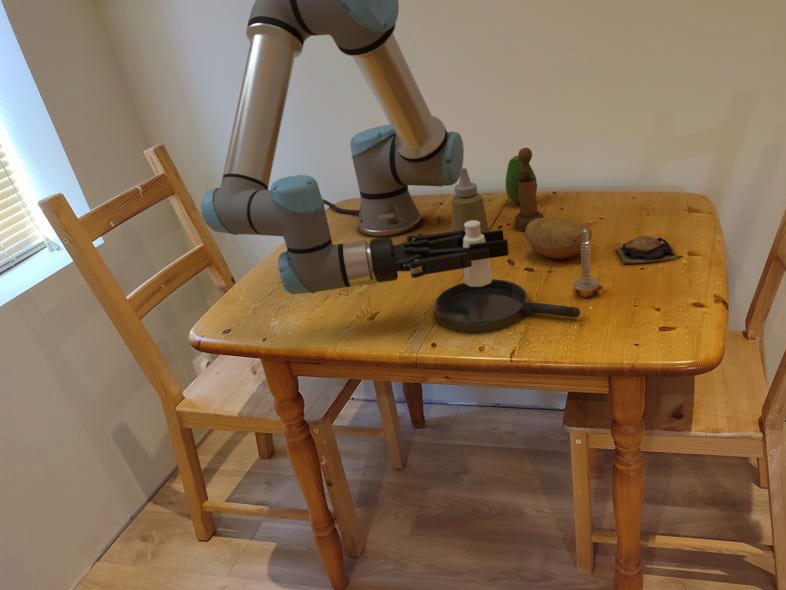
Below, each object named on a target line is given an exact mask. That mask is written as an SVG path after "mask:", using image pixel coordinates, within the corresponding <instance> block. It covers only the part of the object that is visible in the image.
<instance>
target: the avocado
mask: <svg viewBox="0 0 786 590" xmlns="http://www.w3.org/2000/svg"><path fill="white" fill-rule="evenodd" d="M522 167H523V164H522V162H521V160H520V159H519V156H518V155H514V156H513V157H512V158H510V160H509V161H508V164H507V169H506V175H505V191H506V193H507V196H508V198H509V199H510V200H511V201H512V202H514V203H515V204H519V205H520V199H519V187H518V180H519V179H520V178H523V176H522V172H521V168H522ZM529 167H530V168H531V174H530V177H534V178H535V180H536V191H537V189H538V182H537V176H536V175H535V172H534V169H533V168H532V166H531V164H530V163H529Z"/></svg>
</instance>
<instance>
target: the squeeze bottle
mask: <svg viewBox="0 0 786 590" xmlns="http://www.w3.org/2000/svg"><path fill="white" fill-rule="evenodd" d="M458 181H459V183H458V184H456V185H455V186H454V194H455V195H454V196H453V197H452V199H451V224H452V225H451V227H452V231H461V230H465V227H464V224H465V223H466V222H468V221H472V220H476V221H479V222H480V230H481V231H480V232H481V233H482V232H489V231H490V229H489V224H488V218H487V215H486V209H485V205H484V199H483V196H482V195H481V194H480V193H479V192H478V187H477V184H476V183H474V182H472V181H471V179H470V175H469V172H468V169H467V168H466V167H462V168H461V170H460V177H459V180H458ZM465 234H466V232H465Z"/></svg>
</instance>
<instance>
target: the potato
mask: <svg viewBox="0 0 786 590" xmlns="http://www.w3.org/2000/svg"><path fill="white" fill-rule="evenodd" d="M585 228H586V229H589V240H590V242H591V241H592V237H593V232H592V229H591V228H590V227H589V226H587V224H584V223H582V222H579V221H573V220H569V219H568V220H567V219H562V218H550V217H549V218H548V217H543V218H538V219H534V220H532V221H530V222H529V224H528V225H527V227H526V231H524V236H525V240H526V242H527V244H528V245H529V246H530V248H532V251H534V252H536V254H537V253H538V254H539V255H540V256H543V257H546V258H548V259H552V260H563V259H567V258H571V257H574V256H577V255H578V254H580V253H581V245H582V244H581V242H582V230H583V229H585Z"/></svg>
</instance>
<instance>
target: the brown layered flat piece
mask: <svg viewBox="0 0 786 590" xmlns="http://www.w3.org/2000/svg"><path fill="white" fill-rule="evenodd" d="M616 252H617V253H618V255H619V257H620V259H621V261H622V263H623V265H625V264H645V263H646V264H647V263H656V262H659V263H661V262H664V261H665V262H666V261H671V260H672V261H674V260H676V255H675V253H674V252H673V248H672V247H671V245H670V244H669V243H668V241H666V239H664V238H662V237H657V238H655V237H653V236H649V235H641V236H636V237H634V238H632V239H630V240H628V241H627V242H625V243H623V244H622V246H618V247H616Z"/></svg>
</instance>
